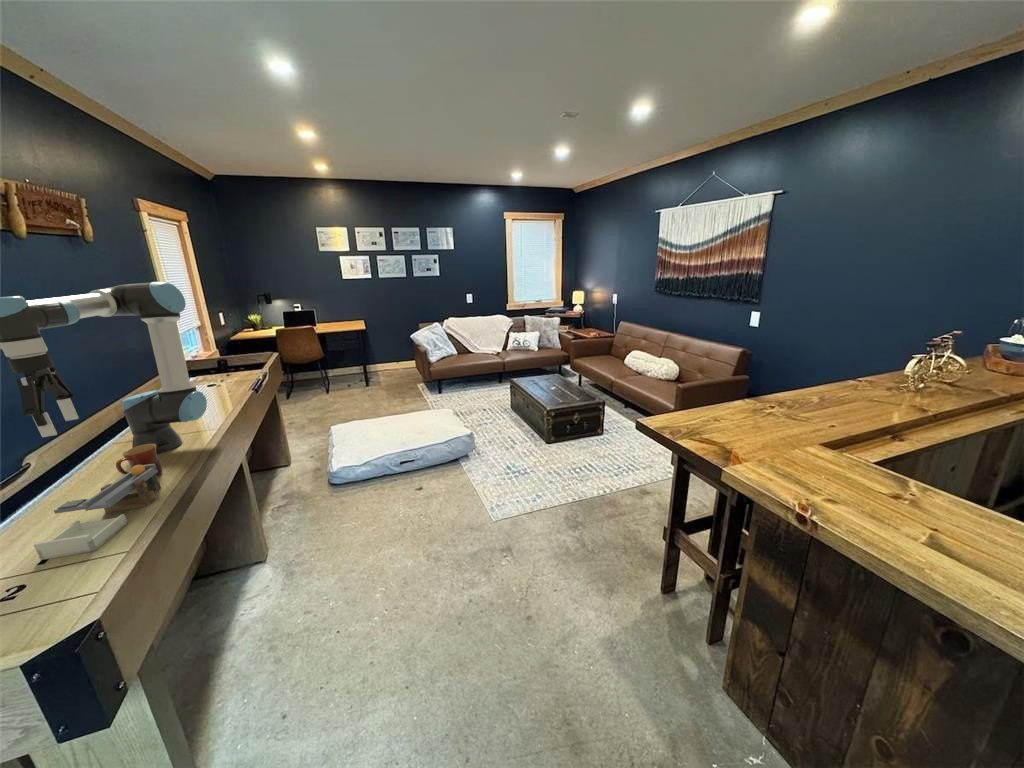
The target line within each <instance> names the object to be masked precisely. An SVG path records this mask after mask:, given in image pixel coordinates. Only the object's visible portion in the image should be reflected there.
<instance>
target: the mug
mask: <svg viewBox="0 0 1024 768" xmlns="http://www.w3.org/2000/svg"><path fill="white" fill-rule="evenodd" d="M121 454H122V457H121V458H120V459H118V460H117V461H116V462H115V468H116V470H117V471H118V473H120V474H122V475H123V476H125V475H126V474H128V473H129V472H131V469H132V467H134V466H136V465H148V464H155V465H156V468H157V470H158V472H157V473H156V476H157V477H158V476H159V475H160V474H161V473H163V469H162V464H161V461H160V459H159V457H158V454H156V444H145V445H140V446H137V447H134V448H132V447H131V448H129V449H126V450H125V451H123V452H122V453H121ZM125 461H127V462H128V464H129V467H130V471H125V470H124V468H123V467H122V463H123V462H125Z"/></svg>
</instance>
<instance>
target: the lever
mask: <svg viewBox="0 0 1024 768" xmlns="http://www.w3.org/2000/svg"><path fill="white" fill-rule="evenodd" d="M143 466H144V467H145V469H146V470H145V472H144V473H143V474H141V475H140V476H134V475H132V474H131V472H129V471H128V472H129V473H128V474H126V475H123V476H122V477H120V478H119V479H117V480H116V481H115V482H113V483H110V484H111V485H110V486H108V487H107V488H105V489H104V490H102V491H101V490H100V491H99V492H98V493H97V494H95V495H94V496H92V497H90V498H82V499H76V500H75V499H74V500H69V501H66V502H64V503H63V504H61V505H60V506H59V507H57V508H56V509H55V508H54V509H53V512H54V514H56V515H57V514H62V513H68V512H70V513H71V512H76V511H82V510H85V511H92V510H100V509H104V508H108V507H111V506H113V505H114V504H115V503H117V502H118V501H120V500H121V499H122V498H124V497H125V496H126V495H128V494H131V493H133V491H135V490H136V488H135V486H134V483H136V482H137V481H138V480H142V479H144V481H146V480H148V479H149V478H150V477H152V476H153V475H154V474H156V473H157V472H158V470H157V468H156V465H155V464H148V465H143Z"/></svg>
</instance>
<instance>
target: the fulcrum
mask: <svg viewBox="0 0 1024 768" xmlns="http://www.w3.org/2000/svg"><path fill="white" fill-rule="evenodd" d="M111 484H112V483H107V484H105V485H103V486H102V487H101V488H100V492H101V491H102V490H104V489H105V488H107V487H108V486H110V485H111ZM134 486H135V488H136V489H135V491H136V492H131V493H129V494H128V495H126V496H125V497H124V498H122V499H121V500H120V501H118V502H117V503H115V504H114V505H113V506H111V507H108V508H103V510H104V513H111V512H117V511H124V510H131V509H132V510H133V509H138V508H145V507H148V506H149V505H151V504H152V503H153V502H154V501H155V500H156V499H157V497H156V495H155V492H157V491H159V490H160V489H161V488H162V487H161V484H160V481H159V479H158V475H157V476H156V474H154V475H153V476H152V477H150V478H149V479H148V480H146V481H144V479H142V480H138V481H137V482H136V483H134Z"/></svg>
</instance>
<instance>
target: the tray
mask: <svg viewBox="0 0 1024 768" xmlns="http://www.w3.org/2000/svg"><path fill="white" fill-rule="evenodd" d="M128 524H129V523H128V520H127V517H126V516H125V513H123V514H119V515H118V516H117V517H113V518H108V519H107V518H106V519H102V520H94V521H87V522H86V521H85V522H80V520H77V521H74V522H73V523H72V524H70V525H69V526H67V527H66V528H65V529H63V530H62V531H60V532H58V534H56V535H55V536H54V537H52V538H50V539H49V540H46V541H45V540H44V541H38V542H35V543H34V544H33V547H34V549H35V551H36V553H37V555H38V557H39V559H40V560H41V561H43V560H49V559H56V558H61V557H67V556H74V555H80V554H86V553H92V552H96V551H97V550H98V549H99V548H100V547H102V546H103V545H104V544H105V543H107V542H108V541H109V540H110V539H111V538H112V537H113V536H115V535H116V534H117V533H118V532H119V531H121V530H122V529H123V528H124V527H126V526H127V525H128Z"/></svg>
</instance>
